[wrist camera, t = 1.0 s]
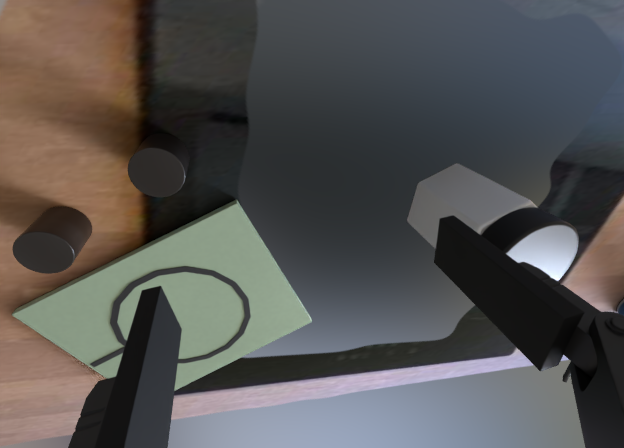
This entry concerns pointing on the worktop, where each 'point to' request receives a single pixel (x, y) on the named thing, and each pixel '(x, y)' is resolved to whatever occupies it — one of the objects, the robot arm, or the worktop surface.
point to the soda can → (621, 308)
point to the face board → (177, 298)
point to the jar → (494, 218)
